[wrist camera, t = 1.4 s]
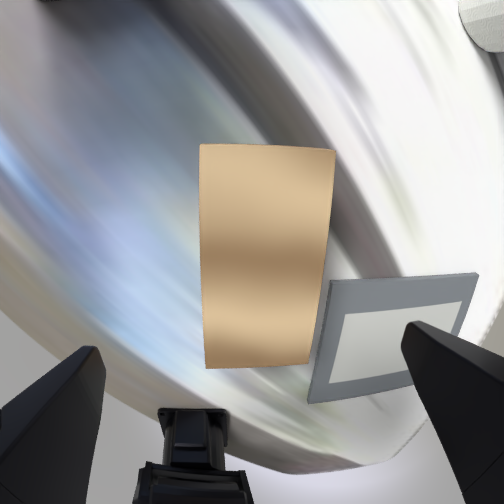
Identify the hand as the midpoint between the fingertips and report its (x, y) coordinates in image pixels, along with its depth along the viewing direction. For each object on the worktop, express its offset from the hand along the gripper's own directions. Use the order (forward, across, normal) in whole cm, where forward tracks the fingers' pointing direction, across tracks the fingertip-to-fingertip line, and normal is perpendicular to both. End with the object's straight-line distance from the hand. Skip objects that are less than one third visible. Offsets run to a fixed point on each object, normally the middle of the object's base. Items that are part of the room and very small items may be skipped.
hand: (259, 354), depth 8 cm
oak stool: (+13, -1, +1) cm, 13 cm away
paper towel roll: (+13, -22, -18) cm, 31 cm away
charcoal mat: (+13, -15, +12) cm, 23 cm away
